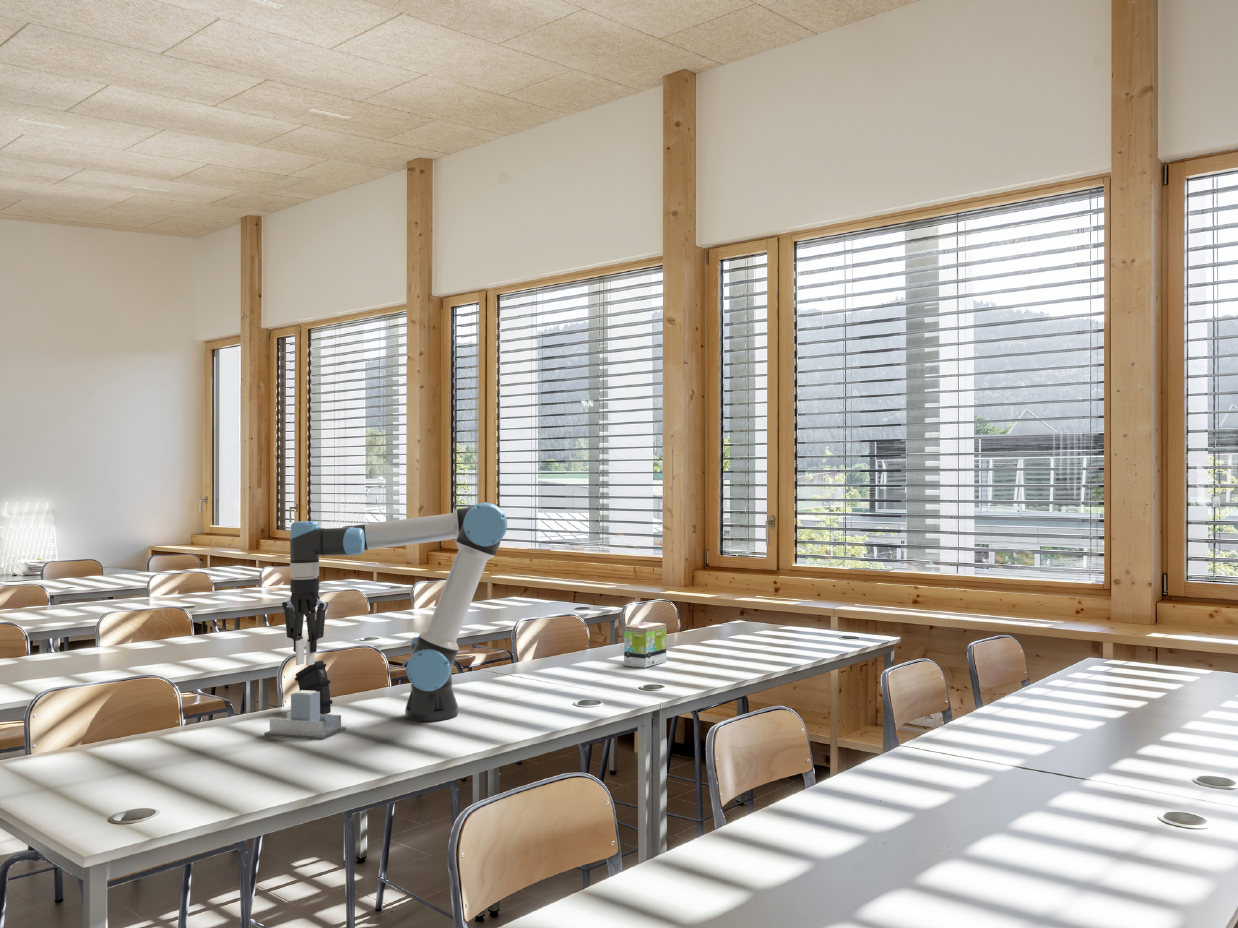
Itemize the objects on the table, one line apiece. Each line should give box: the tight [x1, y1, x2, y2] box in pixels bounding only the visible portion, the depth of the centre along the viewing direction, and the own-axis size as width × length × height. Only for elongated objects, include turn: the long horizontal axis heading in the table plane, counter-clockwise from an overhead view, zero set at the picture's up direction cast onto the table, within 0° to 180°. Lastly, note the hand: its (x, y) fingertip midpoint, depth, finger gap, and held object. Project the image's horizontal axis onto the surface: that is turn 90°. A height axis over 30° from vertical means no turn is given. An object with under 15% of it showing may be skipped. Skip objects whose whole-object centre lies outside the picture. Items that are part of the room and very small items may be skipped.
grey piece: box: [264, 711, 347, 741], centre depth 262 cm, size 18×11×4 cm, turn 73°
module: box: [290, 690, 320, 721], centre depth 262 cm, size 6×4×9 cm
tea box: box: [623, 621, 667, 669], centre depth 358 cm, size 15×10×15 cm, turn 147°
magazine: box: [294, 660, 333, 714], centre depth 288 cm, size 4×13×15 cm, turn 54°
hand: (305, 664), depth 262 cm, fingers open, 3 cm apart
